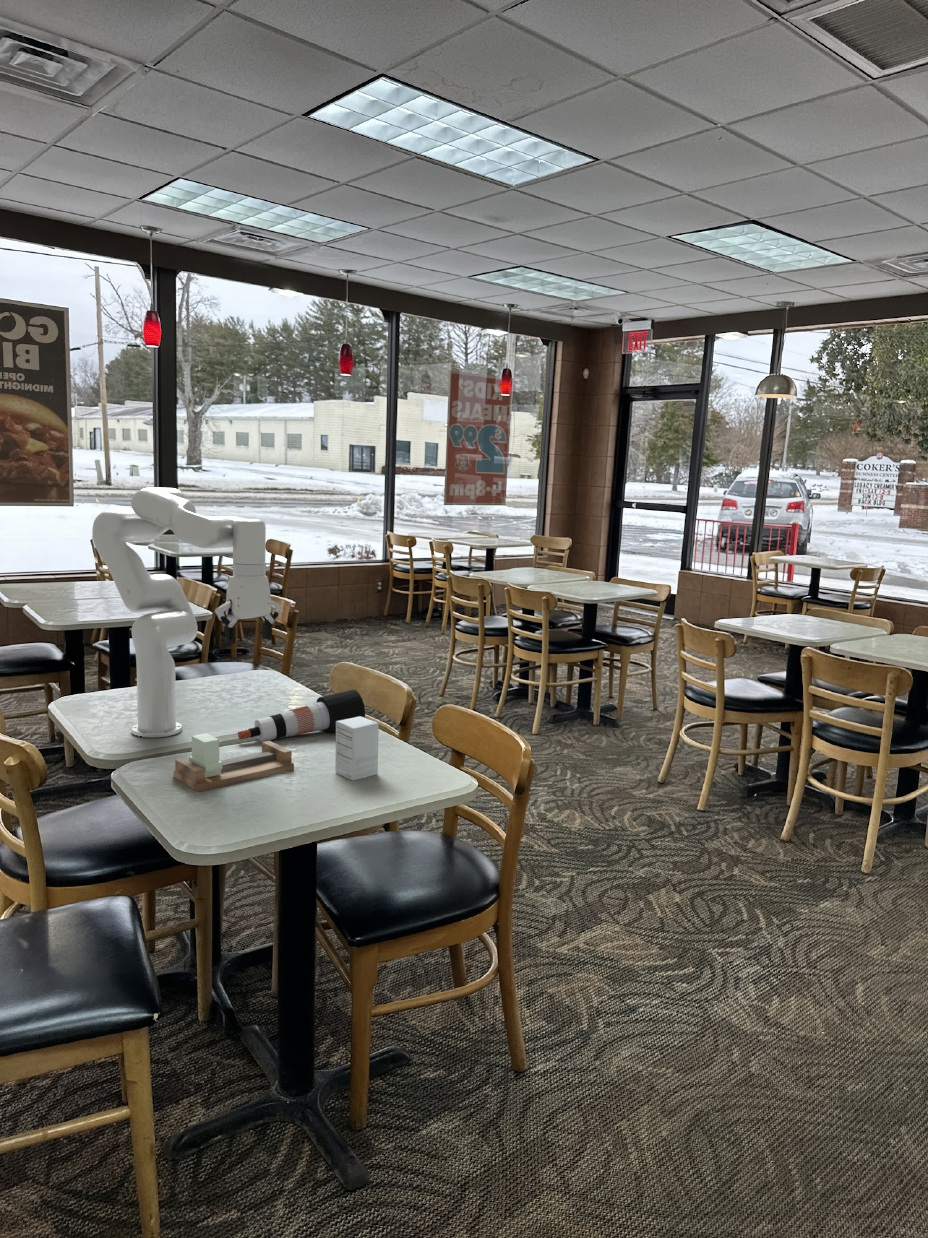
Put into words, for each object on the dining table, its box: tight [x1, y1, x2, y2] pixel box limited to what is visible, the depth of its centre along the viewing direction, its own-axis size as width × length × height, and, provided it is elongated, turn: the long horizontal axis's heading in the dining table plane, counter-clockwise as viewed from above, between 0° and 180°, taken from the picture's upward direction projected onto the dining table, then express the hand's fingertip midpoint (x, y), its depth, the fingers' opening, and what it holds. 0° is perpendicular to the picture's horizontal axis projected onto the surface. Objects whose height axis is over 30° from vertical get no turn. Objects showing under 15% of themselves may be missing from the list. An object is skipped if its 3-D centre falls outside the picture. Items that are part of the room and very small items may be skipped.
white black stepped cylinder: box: [237, 689, 366, 743], centre depth 228 cm, size 10×34×10 cm, turn 124°
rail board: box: [172, 740, 295, 793], centre depth 198 cm, size 12×24×4 cm, turn 134°
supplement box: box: [334, 716, 379, 782], centre depth 200 cm, size 7×7×13 cm
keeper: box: [188, 732, 222, 778], centre depth 192 cm, size 8×4×8 cm, turn 44°
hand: (249, 640), depth 208 cm, fingers open, 9 cm apart
